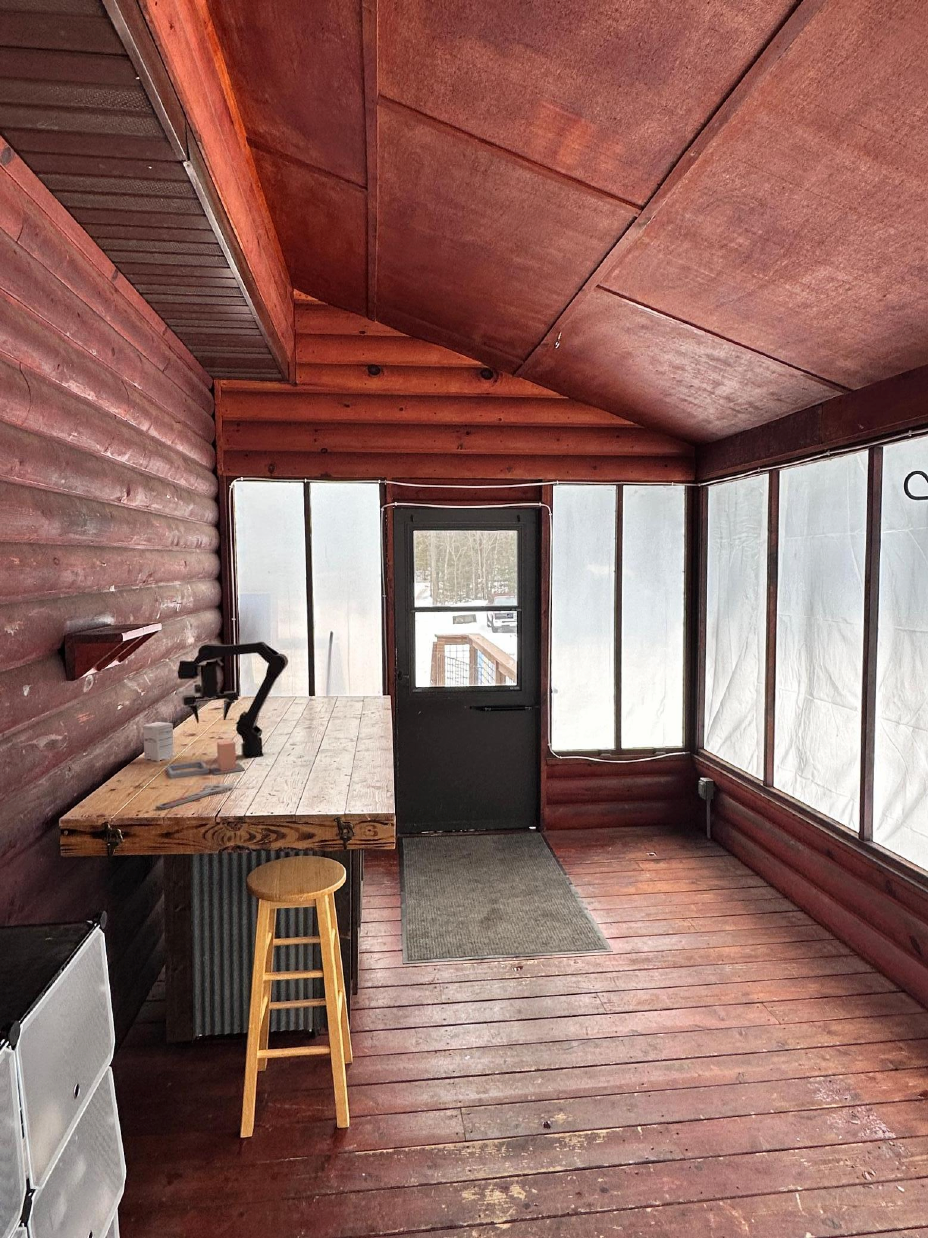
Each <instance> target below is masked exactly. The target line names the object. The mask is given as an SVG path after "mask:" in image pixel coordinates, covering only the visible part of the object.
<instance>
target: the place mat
mask: <svg viewBox="0 0 928 1238" xmlns="http://www.w3.org/2000/svg"><path fill="white" fill-rule="evenodd" d="M208 770H210V772H211V773H212V775H214V776H219V775H226V774H233V773H240V772H246V769H245V768H244V766H243V765H242V764H241V763H239V762H236V769H234V770H227V771H220V770H219V768H218V765H215V766H210V767H208Z"/></svg>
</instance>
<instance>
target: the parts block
mask: <svg viewBox="0 0 928 1238" xmlns="http://www.w3.org/2000/svg"><path fill="white" fill-rule="evenodd" d="M216 748H217V750H216V751H217V754H216V755H217V766H218V768H219V770H220V771H227V770H234V769H236V764H237V753H236V742H235V741H234V740H233V739H229V740H228V739H227V740H220V741H217V742H216Z"/></svg>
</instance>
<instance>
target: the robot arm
mask: <svg viewBox="0 0 928 1238" xmlns="http://www.w3.org/2000/svg"><path fill="white" fill-rule="evenodd" d="M250 654H258V655H259V657H261V658H262V659H263V660H264V661H265V662H266V663H267V664H268V665H267V668H266V672H265V677H264V679H263V681H262V683H261V684H260V686H259V689H258V691H257V693H256V695H255V696H254V698H253V701H252V702H251V704H250V706H249V709H248V710H247V711H245V710H244V711H242V712H241V713H240V715H239V719H237V720H238V721H236V722H235V725H236V728H235V730H236V733H237V734H238V735H239V736H240V737H241V739H242V743H241V744H240V746H241V747H240V748H241V755H242V756H243V757H244V758H245V759H250V758H257V757H263V756H265V754H264V753H263V738H262V737H261V736H262V735H263V729H262V728H260V727H259V725H258V721H259V717H260V712H261V710H262V708H263V706H264V704H265V703H266V700H267V699H268V697H269V695H270V692H271V691H272V689H273V687H274V685H275V683H276V680H277V679H278V678H279V677H280V676H281V674H282V673H283V672H284V670H285V669H286V668H287V666H288V664H289V660H288V656H287V655H285V654H284V653H279V652H278V651H277V650H275V649H273V648H272V647H271V646H269V645H268V644H267V643H265V642H264V641H258V642H247V643H238V644H220V643H211V642H210V643H207V644H204V645H201V646H200V647H199V648H198V651H197V656H196V657H195V658H194V659H193V660H180V661H179V665H178V668H177V669H178V670H177V677H178V679H179V680H183V681H184V680H197V679H198V677H200V684H199V683H198V684H194V685H193V686H194V687H193V689H194V690H193V691H194V694H186V695H185V694H184V695H182V697H181V705H183V706H186V707H187V708H190V710H191V711H192V714H193V716H194V718H195V721H196V724H199V721H200V719H199V712H198V706H197V704H196V703H198V702H206V701H208V702H209V701H216V700H217V701H218V700H223V714H222V715H223V718H222V719H223V721H226V718H227V716H228V714H229V711H230V708H231V706H232V705H233V704H235V701H239V693H237V691H234V690H230V691H229V690H228V691H224V692H223V694H221V693H220V694H219V679H218V667H221V666H224V663H223V662H222V661H220V660H219V658H222V657H223V658H224V657H226V656H227V657H228V656H229V657H230V656H237V655H239V656H240V655H250ZM211 660H212V661H211ZM213 660H214V661H213ZM203 662H205V664H204V663H203ZM196 695H199V696H196Z"/></svg>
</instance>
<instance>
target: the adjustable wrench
mask: <svg viewBox="0 0 928 1238" xmlns="http://www.w3.org/2000/svg"><path fill="white" fill-rule="evenodd" d="M202 789H203V790H202V791H199V792H195V793H193V794H192V793H191V794H189V795H186V796H182V797H178V798H176V799H173V800H169V801H166V802H163V803H159V804H157V805H155V810H166V809H170V808H174V807H175V806H180V805H182V804H185V803H189V802H191V801H195V800H197V799H202V798H204V797H207V796H210V795H211V796H212V795H216V794H225V793H229V792H233V790H235V781H231V782H230V783H228V784H220V783H218V784H210V783H209V784H208V783H207V784H206V783H205V785H204V787H203V788H202Z"/></svg>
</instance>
